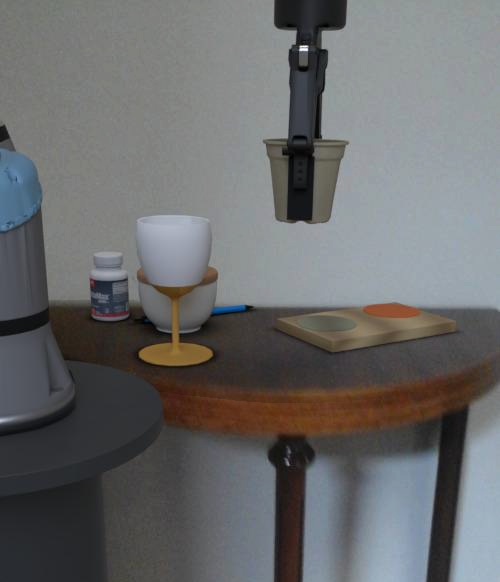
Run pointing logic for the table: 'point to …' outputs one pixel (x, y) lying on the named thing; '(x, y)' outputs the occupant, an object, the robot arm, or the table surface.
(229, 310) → the pen
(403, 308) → the circle
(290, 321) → the board
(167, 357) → the cup
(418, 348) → the table surface
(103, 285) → the pill bottle
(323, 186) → the flower pot
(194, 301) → the trinket box
